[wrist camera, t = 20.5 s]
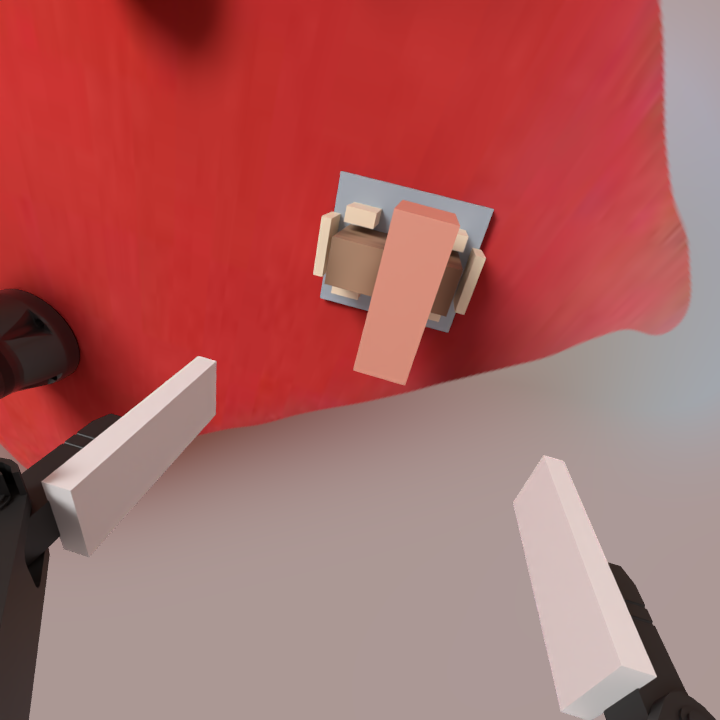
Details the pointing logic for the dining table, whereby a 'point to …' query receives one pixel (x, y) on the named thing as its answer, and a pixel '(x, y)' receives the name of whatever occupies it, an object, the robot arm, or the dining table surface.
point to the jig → (374, 211)
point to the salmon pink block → (405, 289)
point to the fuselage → (377, 265)
